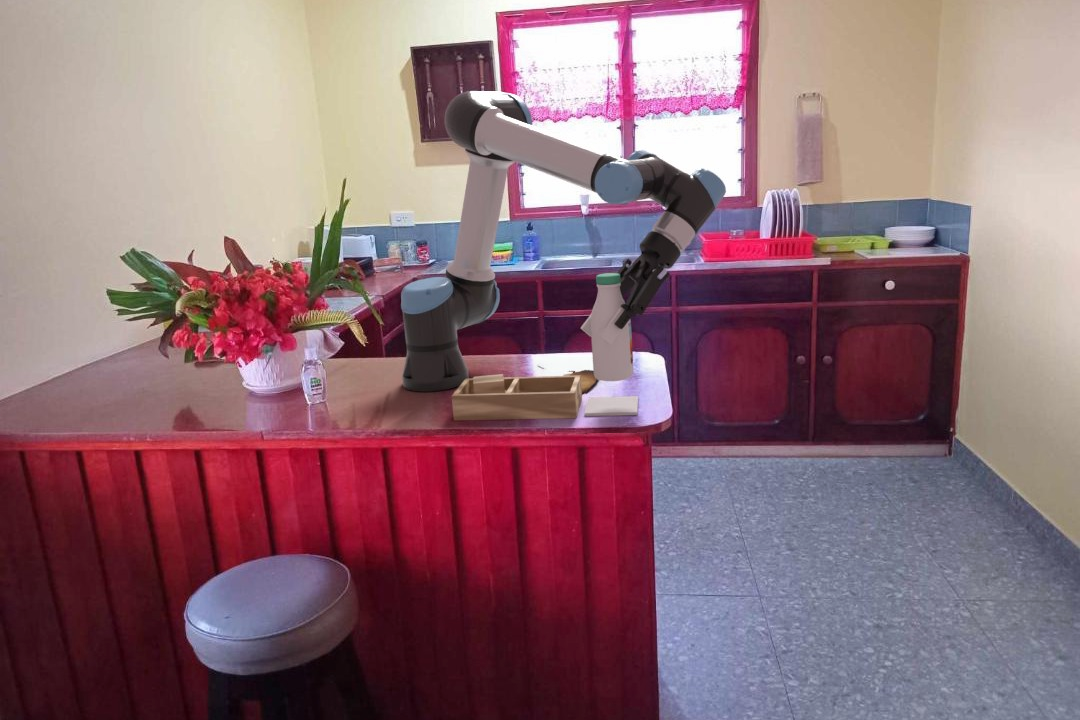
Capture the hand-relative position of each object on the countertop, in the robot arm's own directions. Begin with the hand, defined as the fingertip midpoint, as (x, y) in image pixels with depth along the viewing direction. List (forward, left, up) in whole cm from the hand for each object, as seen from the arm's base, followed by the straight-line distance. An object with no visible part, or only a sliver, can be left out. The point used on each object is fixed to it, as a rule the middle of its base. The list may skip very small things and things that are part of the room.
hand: (595, 336), depth 149 cm
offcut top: (-2, -22, -12) cm, 25 cm away
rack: (-2, -16, -15) cm, 22 cm away
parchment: (-17, -7, -15) cm, 24 cm away
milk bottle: (-2, +3, -9) cm, 9 cm away
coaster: (-2, +2, -15) cm, 15 cm away
